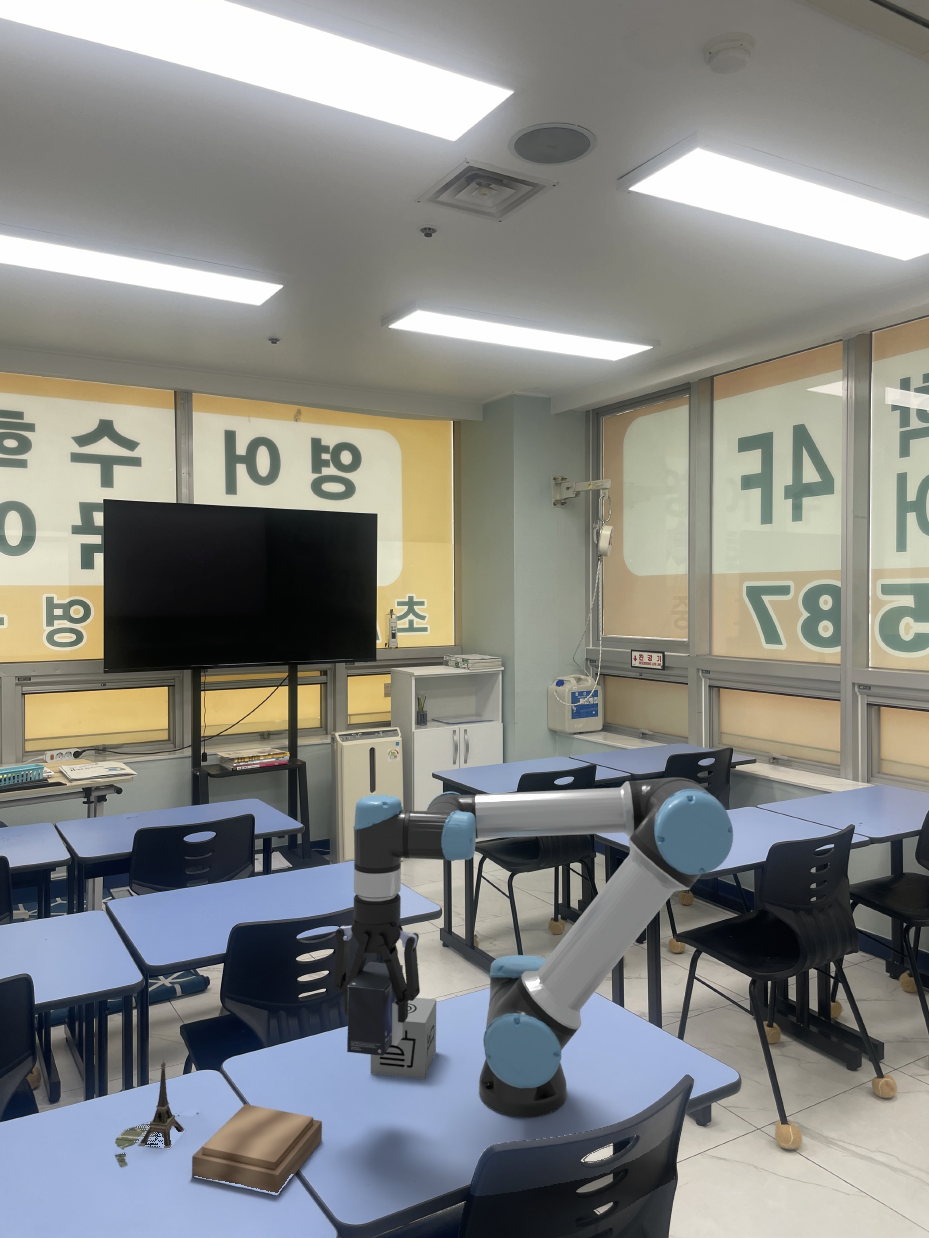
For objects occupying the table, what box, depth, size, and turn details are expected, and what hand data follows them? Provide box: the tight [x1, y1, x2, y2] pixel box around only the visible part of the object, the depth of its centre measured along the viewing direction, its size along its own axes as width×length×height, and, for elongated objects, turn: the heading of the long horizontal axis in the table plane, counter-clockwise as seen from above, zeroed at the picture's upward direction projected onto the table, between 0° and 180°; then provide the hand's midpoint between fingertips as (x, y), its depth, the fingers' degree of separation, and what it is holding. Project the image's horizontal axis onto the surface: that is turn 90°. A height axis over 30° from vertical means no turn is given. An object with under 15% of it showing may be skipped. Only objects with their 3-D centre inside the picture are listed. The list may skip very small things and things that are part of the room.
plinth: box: [191, 1103, 323, 1193], centre depth 132 cm, size 14×14×4 cm
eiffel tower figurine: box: [114, 1056, 185, 1167], centre depth 137 cm, size 15×10×13 cm
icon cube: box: [370, 997, 437, 1080], centre depth 161 cm, size 10×10×10 cm
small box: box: [346, 961, 404, 1056], centre depth 139 cm, size 11×6×10 cm, turn 168°
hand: (376, 1037), depth 139 cm, fingers closed on small box, 7 cm apart
